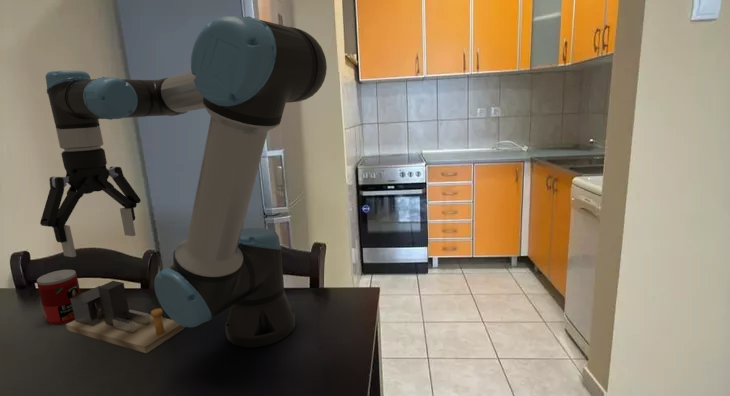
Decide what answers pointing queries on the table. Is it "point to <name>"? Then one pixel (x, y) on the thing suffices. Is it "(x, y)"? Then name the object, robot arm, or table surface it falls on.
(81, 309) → the block
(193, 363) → the table surface
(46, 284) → the canned food
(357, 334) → the table surface
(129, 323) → the two-pronged fork block
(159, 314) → the keeper post
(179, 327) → the rail board
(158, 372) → the table surface
